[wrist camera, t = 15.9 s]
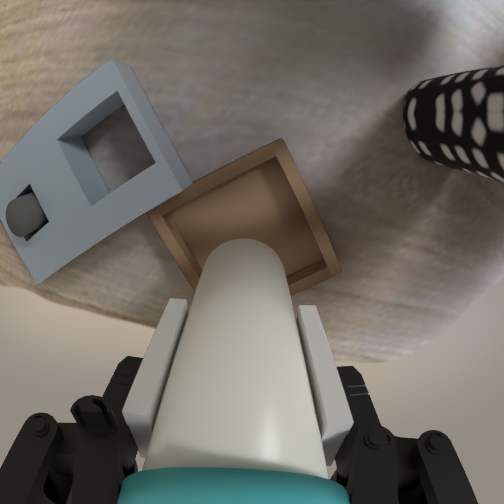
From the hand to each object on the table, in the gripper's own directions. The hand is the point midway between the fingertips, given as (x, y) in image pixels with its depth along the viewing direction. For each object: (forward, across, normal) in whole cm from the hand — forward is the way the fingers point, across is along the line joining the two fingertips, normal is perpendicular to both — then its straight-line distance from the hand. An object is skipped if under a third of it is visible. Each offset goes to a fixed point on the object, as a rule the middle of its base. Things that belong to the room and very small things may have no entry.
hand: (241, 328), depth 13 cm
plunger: (+13, -20, +3) cm, 24 cm away
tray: (+14, 0, 0) cm, 14 cm away
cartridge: (+5, 0, 0) cm, 5 cm away
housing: (+14, -15, +5) cm, 21 cm away
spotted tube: (+14, +17, +12) cm, 25 cm away
